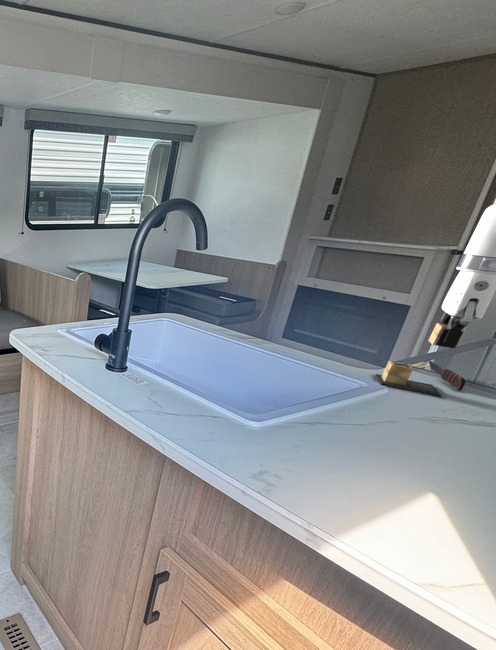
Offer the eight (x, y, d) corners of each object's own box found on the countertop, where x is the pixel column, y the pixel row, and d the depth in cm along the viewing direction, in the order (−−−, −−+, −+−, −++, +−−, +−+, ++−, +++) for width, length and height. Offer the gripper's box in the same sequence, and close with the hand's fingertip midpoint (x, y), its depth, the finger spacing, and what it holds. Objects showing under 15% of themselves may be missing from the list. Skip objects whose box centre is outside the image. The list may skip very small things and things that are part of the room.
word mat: (431, 386, 107) (432, 384, 107) (440, 396, 101) (441, 395, 101) (375, 375, 113) (376, 373, 112) (380, 384, 106) (381, 383, 106)
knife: (421, 368, 120) (426, 358, 119) (426, 368, 119) (431, 358, 118) (457, 390, 105) (463, 379, 104) (462, 391, 105) (468, 380, 104)
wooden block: (401, 380, 109) (409, 363, 107) (405, 385, 105) (413, 368, 104) (381, 376, 111) (389, 359, 109) (384, 381, 107) (392, 364, 106)
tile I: (450, 344, 101) (460, 325, 100) (455, 348, 98) (466, 329, 96) (427, 340, 103) (437, 322, 101) (432, 344, 100) (442, 325, 98)
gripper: (524, 271, 85) (476, 357, 93) (492, 263, 98) (452, 339, 106) (472, 266, 89) (430, 349, 96) (448, 259, 102) (412, 333, 109)
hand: (442, 343), depth 101 cm, fingers closed on tile I, 4 cm apart
